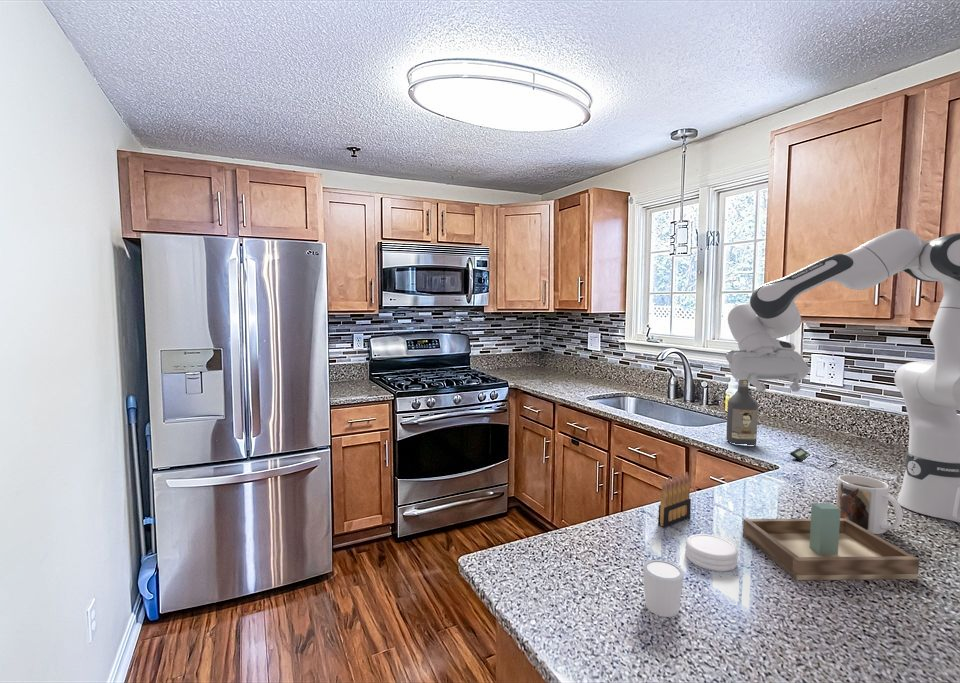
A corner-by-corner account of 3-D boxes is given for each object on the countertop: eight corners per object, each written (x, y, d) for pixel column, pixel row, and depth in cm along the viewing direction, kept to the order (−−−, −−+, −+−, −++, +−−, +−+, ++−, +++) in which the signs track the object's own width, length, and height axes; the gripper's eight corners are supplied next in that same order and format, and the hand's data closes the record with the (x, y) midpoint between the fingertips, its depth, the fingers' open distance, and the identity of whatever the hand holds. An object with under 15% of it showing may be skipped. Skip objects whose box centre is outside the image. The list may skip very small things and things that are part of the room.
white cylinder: (635, 596, 89) (636, 559, 88) (671, 594, 89) (672, 558, 89) (651, 620, 82) (653, 581, 81) (690, 618, 82) (691, 579, 82)
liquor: (724, 439, 194) (727, 366, 192) (748, 440, 193) (751, 366, 191) (733, 446, 185) (736, 369, 183) (758, 447, 184) (761, 369, 182)
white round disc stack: (733, 578, 95) (734, 561, 95) (680, 562, 101) (680, 546, 100) (740, 557, 103) (741, 541, 103) (690, 543, 109) (691, 528, 109)
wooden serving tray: (844, 534, 113) (845, 518, 113) (917, 578, 95) (919, 559, 94) (742, 535, 112) (743, 519, 112) (796, 580, 94) (797, 560, 94)
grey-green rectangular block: (827, 547, 105) (829, 502, 104) (837, 554, 102) (840, 508, 101) (809, 547, 105) (811, 503, 104) (819, 554, 102) (822, 508, 101)
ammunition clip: (664, 528, 116) (665, 480, 115) (657, 525, 118) (659, 477, 117) (690, 518, 122) (692, 472, 121) (684, 515, 123) (685, 469, 123)
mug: (878, 520, 121) (881, 477, 120) (902, 542, 109) (906, 494, 109) (829, 514, 124) (832, 472, 123) (847, 534, 113) (850, 489, 112)
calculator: (828, 469, 160) (829, 460, 160) (789, 460, 169) (789, 452, 169) (837, 463, 166) (837, 455, 166) (798, 455, 175) (799, 447, 175)
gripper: (727, 343, 135) (746, 383, 126) (799, 343, 135) (822, 383, 126) (719, 357, 140) (736, 397, 131) (787, 357, 140) (810, 396, 131)
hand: (779, 390), depth 128 cm, fingers open, 8 cm apart
